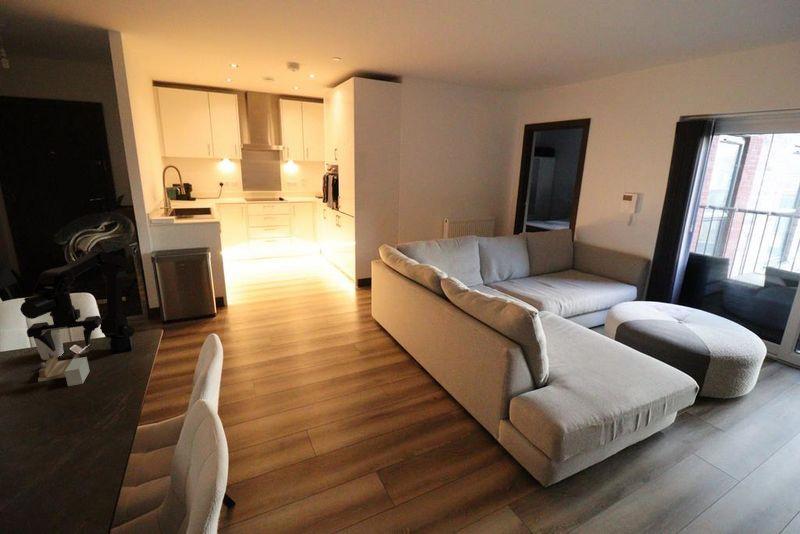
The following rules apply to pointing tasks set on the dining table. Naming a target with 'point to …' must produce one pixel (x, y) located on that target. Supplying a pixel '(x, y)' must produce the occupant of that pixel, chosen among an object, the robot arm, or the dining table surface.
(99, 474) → the dining table surface
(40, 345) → the white cup
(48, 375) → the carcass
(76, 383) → the light grey block
